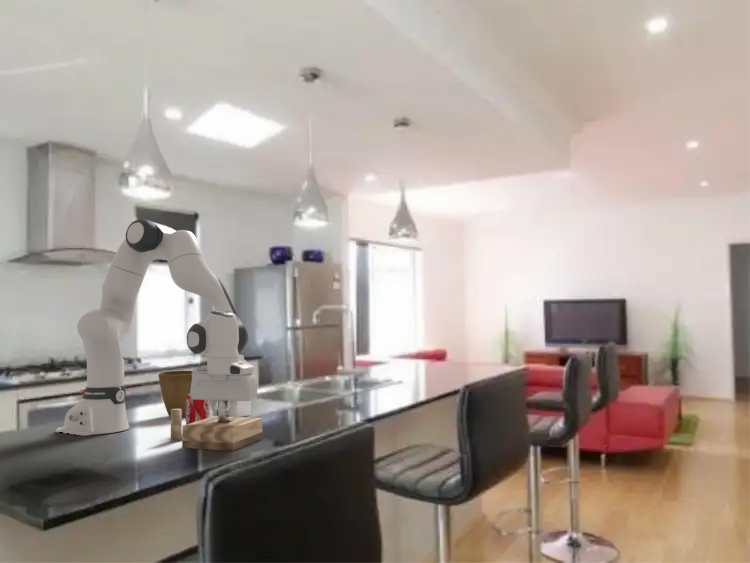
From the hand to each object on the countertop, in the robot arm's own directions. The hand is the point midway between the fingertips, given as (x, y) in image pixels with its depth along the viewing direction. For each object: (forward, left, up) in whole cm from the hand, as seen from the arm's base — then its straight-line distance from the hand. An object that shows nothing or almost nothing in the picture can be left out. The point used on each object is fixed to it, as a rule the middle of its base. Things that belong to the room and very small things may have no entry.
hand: (223, 416), depth 171 cm
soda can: (-17, +12, -8) cm, 22 cm away
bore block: (0, 0, -8) cm, 8 cm away
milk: (-21, +43, -8) cm, 48 cm away
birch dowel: (-16, 0, -8) cm, 18 cm away
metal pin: (0, 0, -4) cm, 4 cm away
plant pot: (-42, +37, -8) cm, 56 cm away
